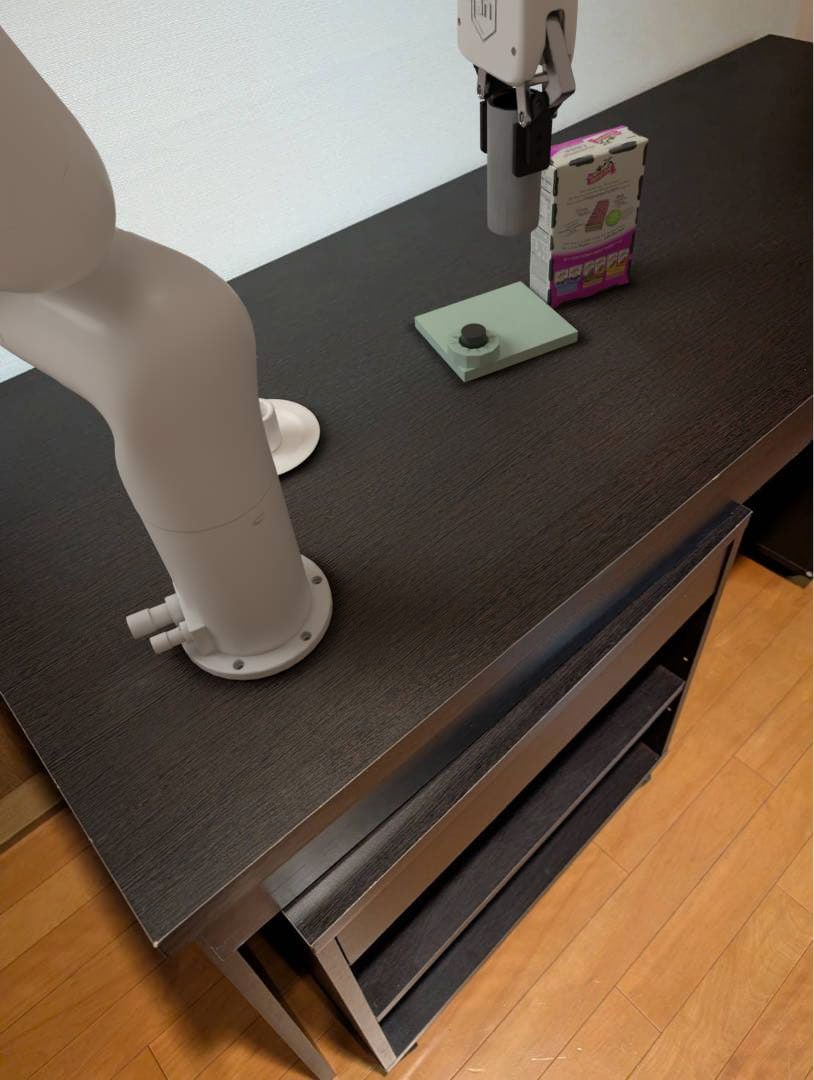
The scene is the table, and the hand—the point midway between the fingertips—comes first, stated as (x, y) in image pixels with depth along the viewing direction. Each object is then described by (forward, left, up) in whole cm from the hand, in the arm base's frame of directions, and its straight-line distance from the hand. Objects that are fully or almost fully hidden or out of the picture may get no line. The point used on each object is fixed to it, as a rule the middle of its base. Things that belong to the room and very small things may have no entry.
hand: (514, 157), depth 63 cm
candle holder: (-26, +4, -23) cm, 35 cm away
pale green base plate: (+3, +8, -23) cm, 24 cm away
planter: (0, 0, -6) cm, 6 cm away
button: (-2, +4, -20) cm, 21 cm away
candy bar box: (+16, +11, -23) cm, 30 cm away
